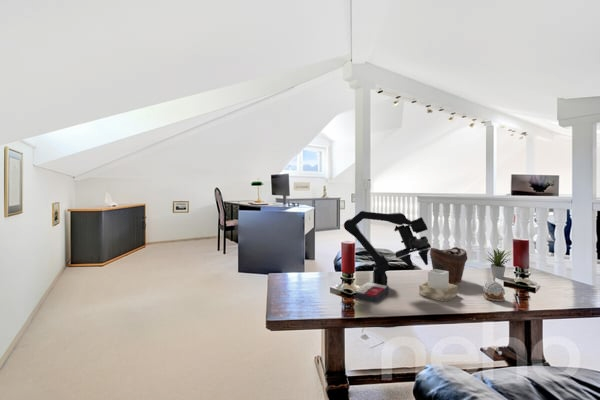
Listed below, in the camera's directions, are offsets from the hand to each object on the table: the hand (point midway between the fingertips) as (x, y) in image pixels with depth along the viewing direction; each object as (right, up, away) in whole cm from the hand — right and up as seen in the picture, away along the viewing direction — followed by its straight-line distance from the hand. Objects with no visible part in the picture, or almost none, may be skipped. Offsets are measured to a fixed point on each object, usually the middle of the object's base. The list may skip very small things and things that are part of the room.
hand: (420, 267), depth 147 cm
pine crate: (+6, -11, -6) cm, 14 cm away
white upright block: (+6, -10, -6) cm, 14 cm away
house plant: (+53, -10, +21) cm, 58 cm away
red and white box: (-25, -12, -6) cm, 29 cm away
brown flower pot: (+22, -11, +17) cm, 30 cm away
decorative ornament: (+28, -12, -12) cm, 33 cm away
